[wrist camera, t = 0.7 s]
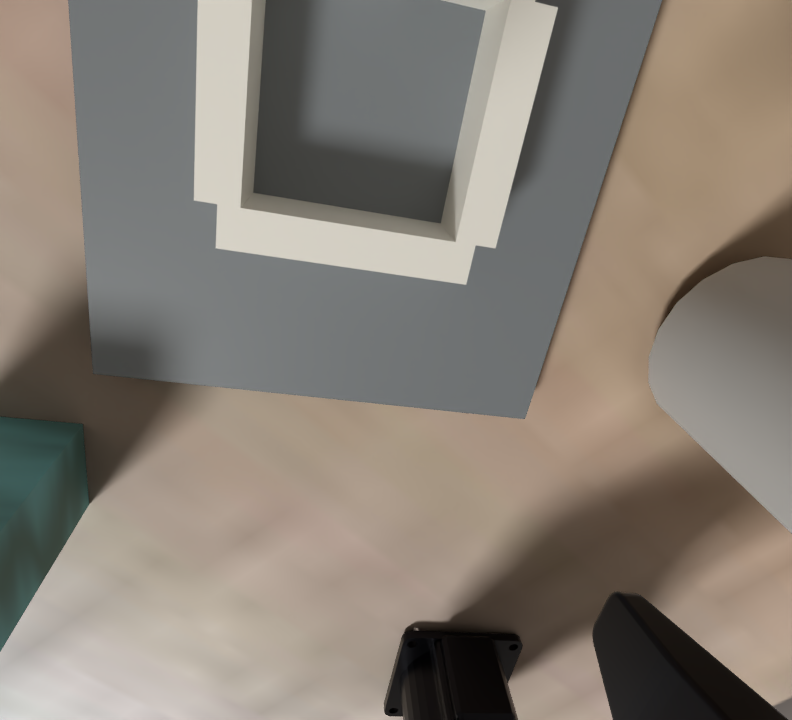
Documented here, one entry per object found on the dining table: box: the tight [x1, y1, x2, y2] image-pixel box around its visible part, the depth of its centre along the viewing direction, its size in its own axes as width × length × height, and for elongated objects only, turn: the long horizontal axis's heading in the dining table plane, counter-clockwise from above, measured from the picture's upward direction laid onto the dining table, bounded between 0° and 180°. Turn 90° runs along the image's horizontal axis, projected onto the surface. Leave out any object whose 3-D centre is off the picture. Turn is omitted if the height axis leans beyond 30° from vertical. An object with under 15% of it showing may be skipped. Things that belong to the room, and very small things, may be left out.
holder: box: [68, 0, 662, 419], centre depth 15 cm, size 20×16×4 cm
